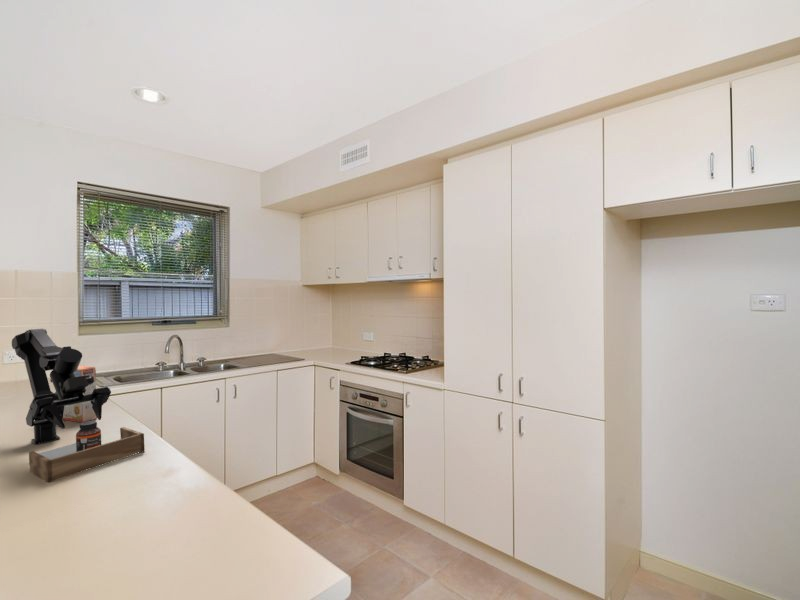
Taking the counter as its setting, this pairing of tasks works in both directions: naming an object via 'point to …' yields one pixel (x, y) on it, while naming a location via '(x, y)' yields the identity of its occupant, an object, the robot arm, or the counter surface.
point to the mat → (59, 451)
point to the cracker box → (83, 410)
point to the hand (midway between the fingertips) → (82, 423)
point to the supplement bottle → (88, 436)
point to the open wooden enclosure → (86, 457)
